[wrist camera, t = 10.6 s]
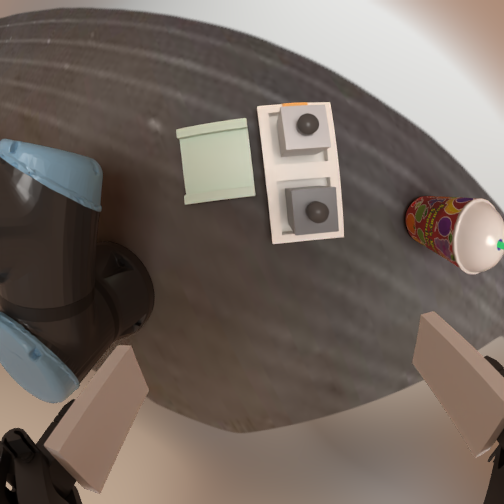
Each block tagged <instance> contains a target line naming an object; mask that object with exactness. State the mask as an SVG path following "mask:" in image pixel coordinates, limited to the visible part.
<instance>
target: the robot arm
mask: <svg viewBox="0 0 504 504" xmlns="http://www.w3.org/2000/svg"><path fill="white" fill-rule="evenodd" d="M102 180H103V172H102V169H101V166H100V165H99V163H98V162H97V161H95V160H94V159H92V158H90V157H86V156H83V155H79V154H76V153H72V152H68V151H64V150H59V149H55V148H51V147H46V146H41V145H37V144H32V143H26V142H21V141H14V140H10V139H2V140H1V141H0V363H1V364H2V366H3V367H4V369H5V370H6V371H7V372H8V373H9V375H10V376H11V377H12V378H13V379H14V380H15V381H16V382H17V383H18V384H19V385H20V386H21V387H23V388H24V389H25V390H26V391H28V392H29V393H30V394H32V395H33V396H35V397H36V398H38V399H40V400H42V401H45V402H49V403H58V402H62V401H64V400H65V399H66V398H68V397H69V396H70V395H71V394H72V393H73V392H74V391H75V390H76V389H78V388H79V386H80V385H79V384H80V383H81V381H82V380H83V379H84V378H85V376H86V375H87V374H88V372H89V371H90V370H91V369H92V368H93V366H94V365H95V364H96V363H97V361H98V360H99V359H100V358H101V356H102V355H103V354H104V353H105V352H106V350H107V349H108V348H109V347H110V345H111V344H112V343H113V342H114V341H116V340H119V339H121V338H123V337H126V336H128V335H131V334H133V333H135V332H136V331H137V330H139V329H140V328H141V327H142V326H143V324H144V323H145V322H146V321H147V319H148V318H149V316H150V314H151V312H152V309H153V305H154V290H153V285H152V282H151V279H150V276H149V274H148V272H147V270H146V268H145V267H144V265H143V264H142V262H141V261H140V260H139V259H138V258H137V257H136V256H135V255H134V254H133V253H132V252H131V251H130V250H128V249H127V248H125V247H123V246H121V245H119V244H116V243H112V242H99V243H96V242H97V231H98V222H99V213H100V212H101V210H102V206H101V205H100V203H101V190H102ZM412 363H413V365H414V366H415V368H416V369H417V370H418V372H419V373H420V375H421V376H422V377H423V379H424V380H425V382H426V383H427V384H428V386H429V387H430V389H431V390H432V392H433V393H434V395H435V396H436V398H437V399H438V401H439V402H440V404H441V405H442V406H443V408H444V410H445V411H446V413H447V414H448V416H449V417H450V419H451V420H452V422H453V423H454V425H455V427H456V428H457V430H458V431H459V433H460V435H461V436H462V438H463V439H464V441H465V443H466V444H467V446H468V448H469V449H470V451H471V453H472V454H473V456H474V458H477V457H478V456H480V455H482V454H483V453H485V452H486V451H488V450H489V449H490V448H491V447H492V445H493V444H494V443H495V441H496V440H497V441H498V442H499V445H498V447H497V448H496V449H495V451H494V452H493V453H492V454H491V456H490V457H489V459H488V462H490V461H491V460H492V458H493V457H494V456H495V459H494V461H493V462H494V465H493V470H492V474H491V478H490V483H489V486H488V490H487V494H486V497H485V500H484V504H504V367H503V366H502V365H501V364H500V363H499V362H497V360H495V359H493V358H491V357H489V356H485V357H483V356H482V355H481V354H480V353H479V352H478V351H477V350H476V349H475V348H474V347H473V346H471V345H470V344H469V343H468V342H467V341H466V340H465V339H464V338H463V337H462V336H461V335H460V334H459V333H458V332H456V331H455V330H454V329H453V328H452V327H451V326H450V325H449V324H448V323H446V322H445V321H444V320H443V319H442V318H441V317H440V316H439V315H437V314H436V313H435V312H434V311H433V312H429V313H425V314H421V317H420V324H419V330H418V336H417V341H416V346H415V351H414V356H413V361H412ZM148 391H149V389H148V387H147V384H146V382H145V380H144V377H143V375H142V372H141V370H140V367H139V365H138V362H137V360H136V357H135V354H134V352H133V349H132V346H129V345H117V347H116V348H115V349H114V350H113V352H112V353H111V354H110V356H109V357H108V358H107V359H106V361H105V362H104V363H103V364H102V366H101V367H100V368H99V370H98V371H97V372H96V373H95V375H94V376H93V377H92V379H91V380H90V381H89V383H88V384H87V385H86V387H85V388H84V389H83V391H82V392H81V393H80V395H79V396H78V397H77V399H76V400H75V399H73V400H71V401H70V402H69V403H67V404H66V405H64V407H63V408H62V410H61V411H60V412H59V413H58V415H57V416H56V417H55V419H54V422H52V423H51V424H50V426H49V427H48V428H47V430H46V431H45V432H44V434H43V435H42V437H41V438H40V439H39V441H38V442H37V444H35V443H34V442H33V441H32V440H31V438H30V437H29V436H28V434H27V433H26V432H25V431H24V430H23V429H20V428H14V429H11V430H9V431H8V432H7V433H5V435H4V436H3V438H2V441H0V504H82V502H81V499H80V496H79V493H78V490H77V488H76V487H75V486H74V484H75V482H76V481H77V482H78V483H79V484H80V485H81V486H82V487H84V488H85V489H87V490H90V491H93V492H95V493H98V494H100V493H101V491H102V489H103V486H104V484H105V482H106V480H107V477H108V475H109V473H110V471H111V469H112V466H113V464H114V462H115V460H116V458H117V456H118V453H119V451H120V449H121V447H122V445H123V443H124V441H125V438H126V436H127V434H128V432H129V430H130V428H131V426H132V424H133V422H134V420H135V417H136V415H137V413H138V411H139V409H140V407H141V405H142V403H143V401H144V399H145V397H146V395H147V393H148ZM6 481H7V482H8V483H9V484H10V485H11V486H12V490H11V491H10V490H9V489H8V488H7V487H6Z"/></svg>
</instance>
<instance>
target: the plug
mask: <svg viewBox="0 0 504 504" xmlns="http://www.w3.org/2000/svg"><path fill="white" fill-rule="evenodd" d="M276 124H277V131H278V139H279V146H280V154H281V157H288V156H301V155H315V154H318V153H320V152H322V151H324V150H326V149H328V148H330V147H331V142H330V134H329V127H328V121H327V114H326V108H325V105H301V106H285V107H280V111H279V115H278V119H277V123H276Z"/></svg>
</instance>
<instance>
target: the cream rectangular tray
mask: <svg viewBox="0 0 504 504" xmlns="http://www.w3.org/2000/svg"><path fill="white" fill-rule="evenodd" d="M301 105H325V108H326V114H327V121H328V127H329V134H330V142H331V147H330V148H328V149H326V150H324V151H322V152H320V153H318V154H315V155H301V156H288V157H281V154H280V146H279V139H278V131H277V124H276V123H277V119H278V115H279V111H280V107H285V106H301ZM257 114H258V122H259V129H260V137H261V146H262V154H263V162H264V171H265V180H266V188H267V197H268V207H269V216H270V225H271V235H272V243H273V244H279V243H288V242H298V241H308V240H318V239H328V238H338V237H344V226H343V209H342V196H341V184H340V173H339V164H338V155H337V146H336V139H335V131H334V124H333V118H332V111H331V105H330V102H317V103H307V102H302V103H284V104H278V105H266V106H257Z"/></svg>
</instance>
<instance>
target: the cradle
mask: <svg viewBox="0 0 504 504" xmlns="http://www.w3.org/2000/svg"><path fill="white" fill-rule="evenodd" d="M176 132H177V138H178V139H180V147H181V156H182V165H183V174H184V182H185V189H186V195H184V201H185V205H187V204H194V203H201V202H208V201H216V200H223V199H231V198H240V197H248V196H255V186H254V178H253V169H252V161H251V152H250V144H249V135H248V127H247V120H246V118H242V119H234V120H227V121H220V122H214V123H208V124H202V125H196V126H191V127H186V128H181V129H176Z"/></svg>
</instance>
